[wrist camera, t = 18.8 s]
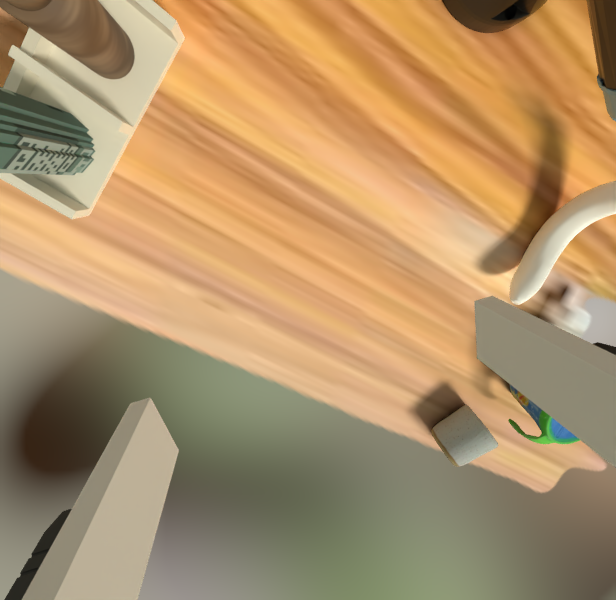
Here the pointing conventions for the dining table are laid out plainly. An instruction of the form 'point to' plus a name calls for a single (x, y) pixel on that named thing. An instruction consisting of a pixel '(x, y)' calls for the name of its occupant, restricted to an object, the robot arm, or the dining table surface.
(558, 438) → the snack cup
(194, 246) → the dining table surface
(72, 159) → the can
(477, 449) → the ceramic mug
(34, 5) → the pepper mill
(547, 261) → the white curved horn
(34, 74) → the caddy
